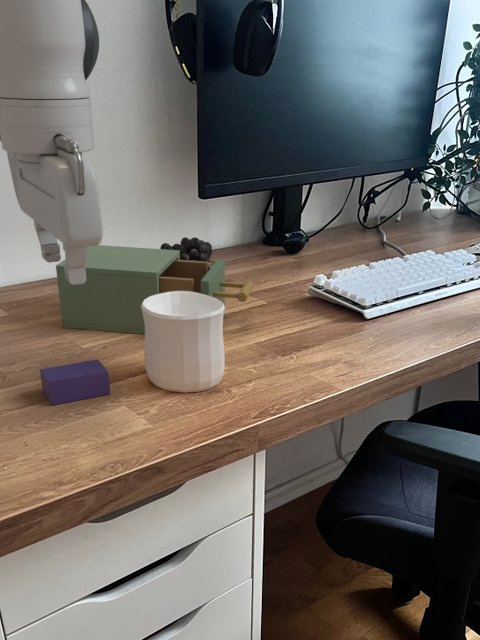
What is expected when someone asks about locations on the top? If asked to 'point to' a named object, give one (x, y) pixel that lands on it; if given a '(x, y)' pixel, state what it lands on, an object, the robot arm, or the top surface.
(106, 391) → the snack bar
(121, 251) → the cabinet
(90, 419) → the top surface
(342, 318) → the top surface
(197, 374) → the cup
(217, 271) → the drawer
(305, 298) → the top surface
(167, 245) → the fruit
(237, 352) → the top surface
